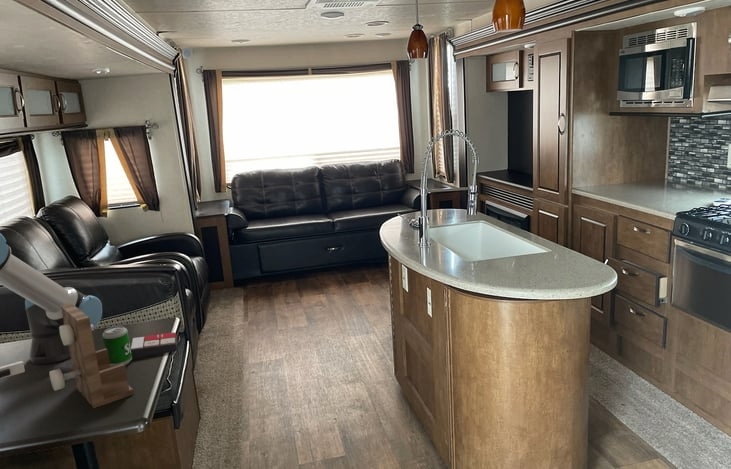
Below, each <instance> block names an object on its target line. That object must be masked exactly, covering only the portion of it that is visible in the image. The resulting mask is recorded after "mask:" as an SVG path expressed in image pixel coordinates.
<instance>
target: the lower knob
mask: <svg viewBox="0 0 731 469" xmlns="http://www.w3.org/2000/svg"><path fill="white" fill-rule="evenodd" d="M80 375H82V374H81V369H79V370H75V371H73V370H72V371H69V372H66V373H62V370H61V369H60V368H55V369H53V370H50V371H49V379H50V380H49V381H50V382H51V387H52V389H53V391H55V392H56V391H58V390H62V389H65V388H66V383H65V381H68V380H70V379H75V377H77V376H80Z"/></svg>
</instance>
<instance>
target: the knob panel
mask: <svg viewBox="0 0 731 469" xmlns="http://www.w3.org/2000/svg"><path fill="white" fill-rule="evenodd" d="M61 310H62V315H63V320H64V325H66V324H70V325H71V327H72V329H73V332H74V337H75V343H72V344H69V345H68V346H69V351H70V356H71V357H70V360H71V364H72V371H75V370H79V369H81V374H82V375H80V376H77V377H74V381H75V386H76V389H77V390H78V391H79V393H80V392H81V393H82V394H81V393H80V394H81V395H82V397H84V398H86V399H87V400H86V399H85V400H86V401H87V402H88V403H89V405H90V404H91V405H92V406H91V405H90V406H91V407H92V408H93V409H96V407H97V408H99V407H102V406H105V405H108V404H111V403H112V402H113V403H114V402H115V401H118V400H121V399H124V398H126V397H127V398H128V397H129V396H132V395H134V389H133V387H131V386H130V385H129V381H128V380H129V379H128V374H127V369H126V365H125V364H120V365H117V366H114V367H111V366H110V361H109V356H108V350H107V349H106V348H105V347H104V348H103V349H100V350H96V347H95V342H94V338H93V331H91V325H90V320H89V317H88V316H87V315H86V314H84V313H83V312H82V311H81V310H79V309H78V308H77V307H76V306H74V305H73V304H68V305H64V306H61ZM101 405H102V406H101ZM98 406H99V407H98Z"/></svg>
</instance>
